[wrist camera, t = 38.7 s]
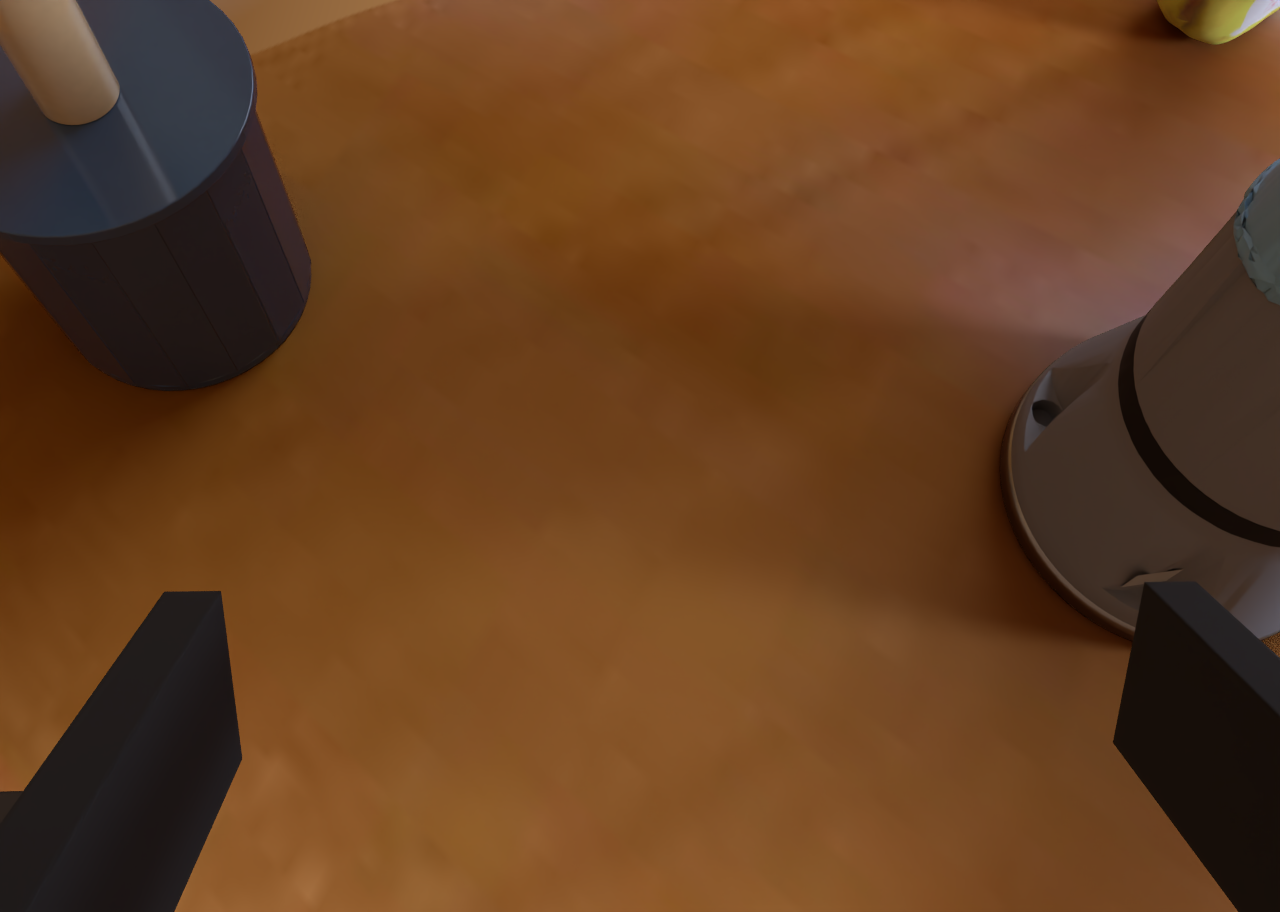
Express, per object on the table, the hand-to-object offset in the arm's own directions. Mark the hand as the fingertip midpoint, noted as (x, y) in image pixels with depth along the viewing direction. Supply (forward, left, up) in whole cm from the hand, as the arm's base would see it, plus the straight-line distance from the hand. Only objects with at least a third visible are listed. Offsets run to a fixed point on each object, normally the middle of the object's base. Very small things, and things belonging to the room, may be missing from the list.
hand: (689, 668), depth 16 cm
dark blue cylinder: (+10, -32, -32) cm, 46 cm away
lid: (+10, -32, -19) cm, 38 cm away
